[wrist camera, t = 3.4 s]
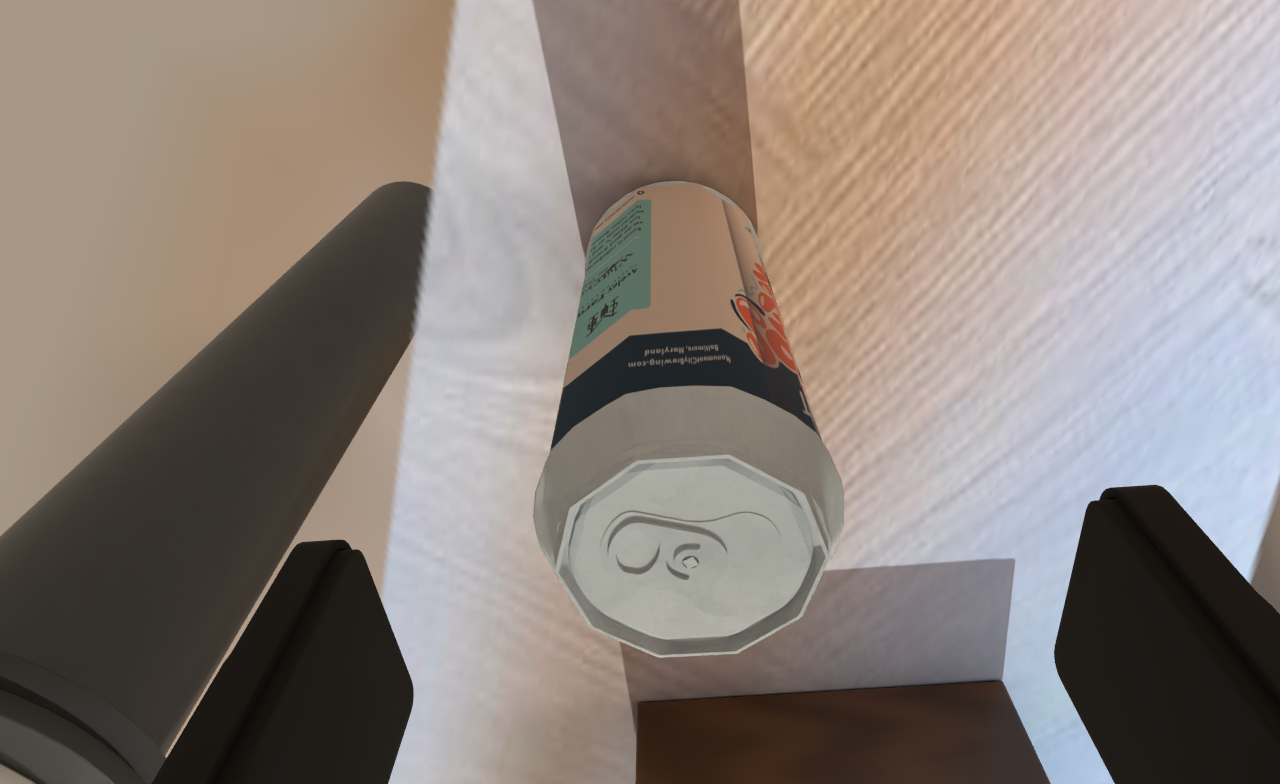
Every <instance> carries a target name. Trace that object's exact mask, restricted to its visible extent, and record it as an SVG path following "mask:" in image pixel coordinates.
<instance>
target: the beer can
mask: <svg viewBox="0 0 1280 784" xmlns="http://www.w3.org/2000/svg"><path fill="white" fill-rule="evenodd" d="M533 517H534V524H535V529H536V534H537V538H538V541H539V545H540V548H541V550H542V552H543V553H544V555H545V557H546V558H547V560H548V562H549V563H550V565H551V566H552V568H553V570H554V571H555V572H554V573H555V575H556V576H557V578H558V579H559V581H560V582H561V584H562V586H563V587H564V589H565V591H566V592H567V594H568V596H569V597H570V599H571V600H572V601H573V603H574V604H575V606H576V607H577V609H578V611H579V612H580V614H581V615H582V617H583V618H584V620H585V621H586V623H587V625H588V626H589V628H590V629H593V630H595V631H597V632H600V633H602V634H604V635H606V636H609V637H611V638H613V639H616V640H618V641H620V642H623V643H625V644H627V645H630V646H632V647H634V648H637V649H639V650H641V651H644V652H646V653H648V654H651V655H653V656H655V657H658V658H664V657H684V656H704V655H724V654H738V653H740V652H741V651H743V650H745V649H747V648H748V647H750V646H752V645H754V644H755V643H757V642H759V641H761V640H763V639H764V638H766V637H768V636H770V635H771V634H773V633H775V632H777V631H779V630H780V629H782V628H784V627H786V626H787V625H789V624H791V623H793V622H795V621H796V620H798V619H800V618H802V616H803V614H804V612H805V610H806V608H807V606H808V603H809V601H810V599H811V597H812V595H813V593H814V591H815V588H816V587H817V585H818V583H819V582H820V580H821V577H822V575H823V572H824V569H825V567H826V566H827V564H828V562H829V561H830V559H831V558H832V556H833V555H834V552H835V549H836V546H837V543H838V540H839V536H840V533H841V530H842V527H843V524H844V491H843V485H842V480H841V478H840V476H839V473H838V471H837V469H836V467H835V464H834V462H833V460H832V458H831V455H830V453H829V451H828V450H827V448H826V447H825V445H824V444H823V442H822V439H821V436H820V433H819V430H818V427H817V424H816V421H815V418H814V415H813V412H812V409H811V406H810V403H809V400H808V397H807V394H806V391H805V388H804V385H803V382H802V379H801V376H800V373H799V370H798V367H797V364H796V361H795V358H794V355H793V352H792V349H791V346H790V343H789V340H788V337H787V334H786V331H785V328H784V325H783V322H782V319H781V316H780V313H779V310H778V307H777V303H776V300H775V297H774V294H773V291H772V288H771V285H770V282H769V279H768V276H767V273H766V270H765V267H764V264H763V258H762V252H761V246H760V242H759V239H758V237H757V235H756V232H755V230H754V228H753V226H752V223H751V221H750V220H749V219H748V217H747V216H746V214H745V213H744V212H743V211H742V210H741V209H740V208H739V207H738V206H737V205H736V204H735V203H734V202H733V201H731V200H730V199H729V198H728V197H726V196H724V195H723V194H721V193H719V192H717V191H716V190H714V189H712V188H709V187H706V186H703V185H700V184H697V183H691V182H684V181H668V182H658V183H654V184H650V185H646V186H643V187H640V188H638V189H636V190H634V191H632V192H630V193H628V194H626V195H625V196H624V197H622V198H621V199H620V200H618V201H617V202H616V203H615V204H613V205H612V206H611V207H609V208H608V210H607V211H606V212H605V213H604V215H603V216H602V218H601V219H600V220H599V221H598V223H597V224H596V225H595V227H594V229H593V232H592V235H591V238H590V241H589V244H588V247H587V254H586V263H585V279H584V284H583V289H582V294H581V299H580V304H579V309H578V314H577V319H576V324H575V329H574V334H573V339H572V344H571V349H570V354H569V359H568V364H567V369H566V374H565V379H564V384H563V389H562V394H561V399H560V404H559V409H558V414H557V420H556V425H555V430H554V435H553V440H552V445H551V450H550V454H549V456H548V458H547V460H546V462H545V465H544V468H543V471H542V474H541V477H540V480H539V483H538V486H537V489H536V492H535V502H534V514H533Z"/></svg>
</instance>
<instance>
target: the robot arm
mask: <svg viewBox="0 0 1280 784" xmlns="http://www.w3.org/2000/svg"><path fill="white" fill-rule="evenodd" d="M1054 657H1055V664H1056V668H1057V672H1058V675H1059V677H1060V679H1061V681H1062V683H1063V685H1064V687H1065V689H1066V691H1067V693H1068V695H1069V697H1070V699H1071V700H1072V702H1073V704H1074V706H1075V708H1076V710H1077V712H1078V714H1079V716H1080V718H1081V720H1082V722H1083V723H1084V725H1085V727H1086V729H1087V731H1088V733H1089V735H1090V737H1091V739H1092V741H1093V743H1094V745H1095V746H1096V748H1097V750H1098V752H1099V754H1100V756H1101V758H1102V760H1103V762H1104V764H1105V766H1106V768H1107V770H1108V771H1109V773H1110V775H1111V777H1112V779H1113V781H1114V783H1115V784H1280V614H1279V613H1278V612H1277V611H1276V610H1275V609H1274V608H1273V606H1272V605H1270V604H1269V603H1268V602H1267V601H1266V600H1265V599H1264V598H1263V597H1261V596H1260V595H1259V594H1258V593H1257V592H1256V591H1255V590H1254V588H1253V587H1252V586H1251V585H1250V584H1249V583H1248V582H1247V581H1246V579H1245V578H1244V577H1243V576H1242V575H1241V574H1240V573H1239V571H1238V570H1237V569H1236V568H1235V567H1234V566H1233V565H1232V564H1231V562H1230V561H1229V560H1228V559H1227V558H1226V557H1225V556H1224V554H1223V553H1222V552H1221V551H1220V550H1219V549H1218V548H1217V546H1216V545H1215V544H1214V543H1213V542H1212V541H1211V540H1210V539H1209V537H1208V536H1207V535H1206V534H1205V533H1204V532H1203V531H1202V529H1201V528H1200V527H1199V526H1198V525H1197V524H1196V523H1195V522H1194V520H1193V519H1192V518H1191V517H1190V516H1189V515H1188V514H1187V512H1186V511H1185V510H1184V509H1183V508H1182V507H1181V506H1180V505H1179V503H1178V502H1177V501H1176V500H1175V499H1174V498H1173V497H1172V495H1171V494H1170V493H1169V492H1168V491H1167V490H1165V489H1164V488H1163V487H1161V486H1158V485H1146V486H1131V487H1116V488H1109V489H1106V490H1105V491H1104V492H1103V493H1102V494H1101V497H1100V500H1099V501H1092V502H1090V503H1089V504H1088V507H1087V509H1086V513H1085V517H1084V522H1083V526H1082V530H1081V535H1080V539H1079V544H1078V548H1077V552H1076V557H1075V561H1074V565H1073V570H1072V574H1071V578H1070V583H1069V587H1068V591H1067V596H1066V600H1065V605H1064V609H1063V613H1062V618H1061V622H1060V626H1059V631H1058V635H1057V639H1056V644H1055V650H1054ZM412 706H413V684H412V680H411V678H410V675H409V672H408V670H407V667H406V665H405V662H404V659H403V657H402V654H401V651H400V649H399V646H398V644H397V641H396V638H395V636H394V633H393V631H392V628H391V625H390V623H389V620H388V618H387V615H386V612H385V610H384V607H383V605H382V602H381V599H380V597H379V594H378V592H377V589H376V586H375V584H374V581H373V579H372V576H371V573H370V571H369V568H368V565H367V563H366V560H365V558H364V556H363V554H362V552H361V551H359V550H352V549H351V547H350V545H349V544H348V543H347V542H346V541H345V540H329V541H313V542H301V543H299V544H297V545H296V546H295V547H294V549H293V550H292V552H291V553H290V555H289V557H288V558H287V560H286V562H285V563H284V565H283V567H282V568H281V570H280V572H279V573H278V575H277V577H276V578H275V580H274V582H273V584H272V585H271V587H270V589H269V590H268V592H267V594H266V595H265V597H264V599H263V600H262V602H261V604H260V605H259V607H258V609H257V610H256V612H255V614H254V616H253V617H252V619H251V621H250V622H249V624H248V626H247V627H246V629H245V631H244V633H243V634H242V636H241V637H240V639H239V641H238V643H237V644H236V646H235V648H234V649H233V651H232V653H231V654H230V655H229V657H228V658H227V659H226V661H225V662H224V663H223V665H222V667H221V668H220V670H219V672H218V673H217V675H216V677H215V678H214V680H213V682H212V683H211V685H210V687H209V688H208V690H207V692H206V693H205V695H204V697H203V698H202V700H201V702H200V704H199V705H198V707H197V708H196V710H195V712H194V713H193V715H192V717H191V719H190V720H189V722H188V724H187V726H186V727H185V729H184V730H183V732H182V734H181V736H180V737H179V739H178V740H177V742H176V744H175V745H174V747H173V749H172V750H171V752H170V754H169V755H168V757H167V759H166V760H165V762H164V764H163V766H162V767H161V769H160V771H159V772H158V774H157V776H156V777H155V779H154V781H153V782H152V784H388V782H389V779H390V775H391V772H392V769H393V766H394V763H395V760H396V757H397V754H398V751H399V747H400V744H401V741H402V738H403V735H404V732H405V729H406V726H407V723H408V720H409V716H410V713H411V710H412ZM0 784H37V783H35V782H34V781H32V780H31V779H29V778H28V777H26V776H24V775H22V774H20V773H19V772H17V771H15V770H13V769H12V768H10V767H8V766H6V765H4V764H2V763H0Z"/></svg>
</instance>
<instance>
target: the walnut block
mask: <svg viewBox="0 0 1280 784" xmlns="http://www.w3.org/2000/svg"><path fill="white" fill-rule="evenodd" d="M636 784H1050V782H1049V779H1048V777H1047V775H1046V773H1045V771H1044V769H1043V767H1042V764H1041V762H1040V760H1039V758H1038V756H1037V754H1036V752H1035V749H1034V747H1033V745H1032V743H1031V741H1030V739H1029V737H1028V734H1027V732H1026V730H1025V728H1024V726H1023V724H1022V722H1021V719H1020V717H1019V715H1018V713H1017V711H1016V709H1015V707H1014V704H1013V702H1012V700H1011V698H1010V696H1009V694H1008V692H1007V689H1006V687H1005V685H1004V683H1003V682H1002V681H992V682H976V683H959V684H943V685H926V686H910V687H893V688H877V689H860V690H844V691H827V692H811V693H794V694H778V695H761V696H744V697H728V698H711V699H695V700H678V701H662V702H645V703H638V705H637V744H636Z"/></svg>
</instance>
